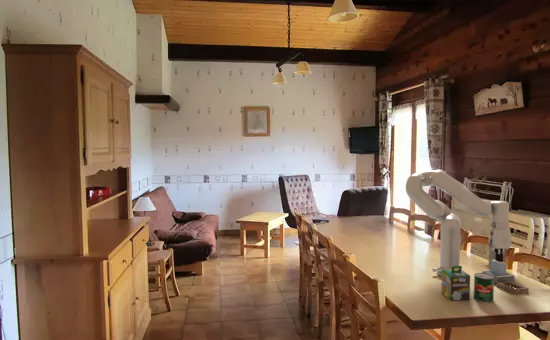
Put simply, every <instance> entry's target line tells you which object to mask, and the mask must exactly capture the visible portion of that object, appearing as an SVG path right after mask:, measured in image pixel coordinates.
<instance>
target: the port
mask: <svg viewBox="0 0 550 340" xmlns="http://www.w3.org/2000/svg"><path fill="white" fill-rule="evenodd" d="M481 273H486V274H490V275H493V276H494V283H495V284H494V285H496V284H497V283H500V282H509V281H512V282H514V283H515V274H511V273H508V272H506V276H498V275H496V274H493V273H491V270H489V269H486V270H482V272H481Z"/></svg>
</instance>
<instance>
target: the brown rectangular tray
mask: <svg viewBox="0 0 550 340" xmlns="http://www.w3.org/2000/svg"><path fill="white" fill-rule="evenodd" d="M510 286H511V287H510ZM496 287H497V288H498V287H499V288H498V289H500V288H502V289H501V290H503V289H504V290H503V291H505V290H506V291H505V292H507V291H508V292H507V293H510V292H511V293H510V294H512V293H513V294H512V295H514V294H515V295H520V294H519V293H524V294H527V293H526V292H528V293H529V287H526V286H525V285H524V286H523V285H521V284H519V283H516V282H515V281H514V282H512V281H509V282H500V283H497V285H496ZM512 287H514V288H516V289H514V288H512Z"/></svg>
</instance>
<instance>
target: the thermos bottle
mask: <svg viewBox="0 0 550 340" xmlns="http://www.w3.org/2000/svg"><path fill="white" fill-rule="evenodd" d="M489 234H490V229H489V233H488V235H489ZM495 254H496V253H495V252H494V251H493V250H490V246H489V245H488V263H487V264H488V266H487V267H488V268H489V269H490V270H491V260H495ZM503 262H505V263H506V251H505V252H504V254H503ZM488 268H487V269H488ZM489 269H488V270H489Z"/></svg>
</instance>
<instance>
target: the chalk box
mask: <svg viewBox="0 0 550 340" xmlns="http://www.w3.org/2000/svg"><path fill="white" fill-rule="evenodd" d="M455 268H459V269H455ZM462 269H463V266H462V265H460V266H452V269H451V270H442V276H441V288H442V289H441V293H442V295H444V297H446V298H447V299H449V300H450V301H470V296H471V295H470V293H471V275H470V274H469V273H467V272H465V270H462Z"/></svg>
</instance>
